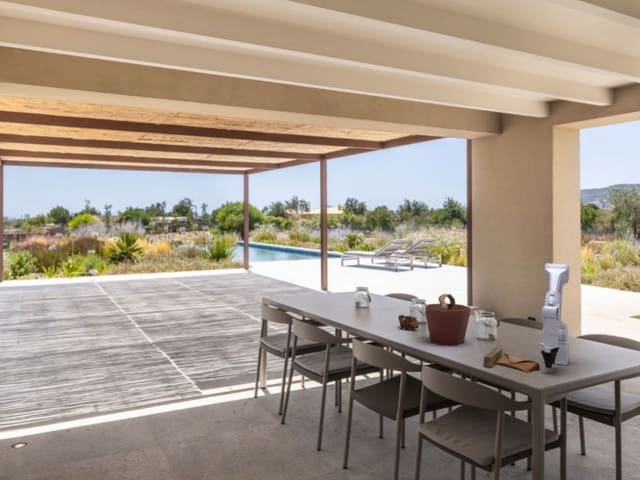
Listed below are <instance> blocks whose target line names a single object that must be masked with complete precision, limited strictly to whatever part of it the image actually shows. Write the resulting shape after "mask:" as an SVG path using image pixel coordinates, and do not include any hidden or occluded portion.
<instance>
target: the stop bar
mask: <svg viewBox="0 0 640 480" xmlns="http://www.w3.org/2000/svg"><path fill="white" fill-rule="evenodd" d="M502 356H503V348H502V347H496V346H495V347H494V348H492V349H491V350H490V351H489V352H487V353H486V354H485V355H483V368H488V369H491V368H492V367H494V366H495V365H496V364H495V363H496V362H497V361H498V360H499V359H500V358H501V357H502Z"/></svg>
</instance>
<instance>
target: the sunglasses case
mask: <svg viewBox="0 0 640 480" xmlns="http://www.w3.org/2000/svg"><path fill="white" fill-rule="evenodd" d="M495 365H499V366H502V367H506V368H509V369H513V370H517V371H520V372H523V373H525V374H529V373H533V372H536V371H540V367H541V366H540V364H539V362H536V361H534V360H530V359H529V360H528V359H525V358H521V357H517V356H513V355H509V354H507V353H503V354H502V357H501V358H500V359H499V360H498V361H497V362H496V363H495Z"/></svg>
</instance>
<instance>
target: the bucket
mask: <svg viewBox="0 0 640 480" xmlns="http://www.w3.org/2000/svg"><path fill="white" fill-rule="evenodd" d="M446 298H447V299H448V300H449V303H446V300H445V299H446ZM438 302H439V303H428V304H427V305H426V306H425V318H426V324H427V329H428V334H429V340H430V343H431V344H434V345H438V346H445V347H446V346H449V347H452V346H453V347H457V346H460V345H463V344H464V343H465V339H466V338H465V337H466V333H467V329H468V325H469V320H470V316H471V307H469V306H466V305H464V304H458V303H456V299H455V297H454V296H453V295H452V294H451V293H442V294H441V295H439V296H438Z"/></svg>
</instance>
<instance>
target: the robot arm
mask: <svg viewBox="0 0 640 480" xmlns="http://www.w3.org/2000/svg"><path fill="white" fill-rule="evenodd" d="M544 276H545V280H546V282H547V283H548V284H549V290H548V291H547V292H546V293H545V300H544V306H542V309H541V316H542V323H543V325H542V326H543V327H542V342H540V343H539V345H540V346H543V348H544V349H541V351H540V354H541V355H542V358H543V362H544V366H545V368H546V369H550V370H551V369H552V368H553V365H556V364H557V365H562V366H567V365H568V364H569V362H570V343H567V341H568V326H567V324H566V323H565V321H563V320H562V307H563V306H562V305H563V304H562V303H563V289H564V286H565V285H566V284H569V281H570V264H569V263H566V264H565V263H548V262H546V263H545V265H544Z"/></svg>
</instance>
